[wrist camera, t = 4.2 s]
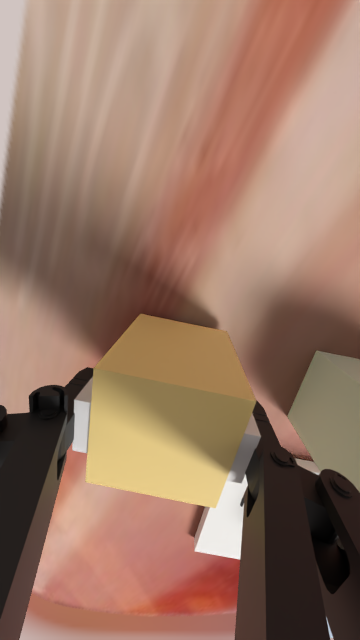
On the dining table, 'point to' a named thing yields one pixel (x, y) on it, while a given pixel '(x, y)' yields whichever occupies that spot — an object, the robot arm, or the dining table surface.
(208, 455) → the ochre brick
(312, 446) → the sage brick
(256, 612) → the robot arm
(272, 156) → the dining table surface
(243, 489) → the plate
